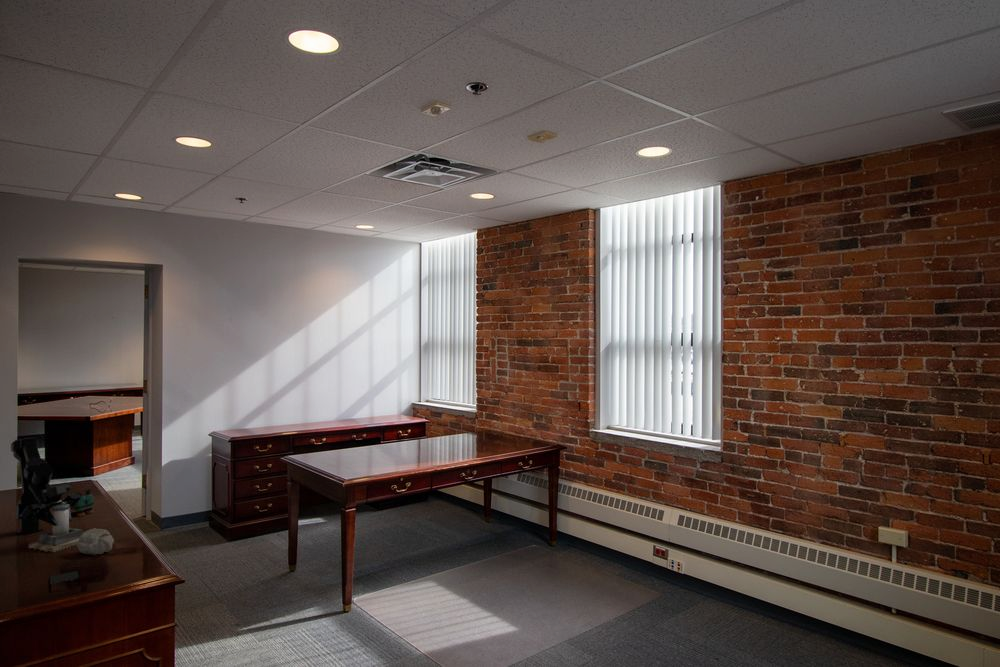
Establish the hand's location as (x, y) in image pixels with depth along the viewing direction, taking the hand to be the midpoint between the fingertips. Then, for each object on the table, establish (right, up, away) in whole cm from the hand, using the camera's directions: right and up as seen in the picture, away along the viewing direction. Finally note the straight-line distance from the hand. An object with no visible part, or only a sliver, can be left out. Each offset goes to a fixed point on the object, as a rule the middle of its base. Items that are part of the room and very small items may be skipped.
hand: (63, 523), depth 225 cm
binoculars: (-22, -9, +40) cm, 47 cm away
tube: (-1, -7, 0) cm, 7 cm away
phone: (+27, -8, -36) cm, 46 cm away
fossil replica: (+19, -8, -9) cm, 22 cm away
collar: (-1, -8, 0) cm, 8 cm away
